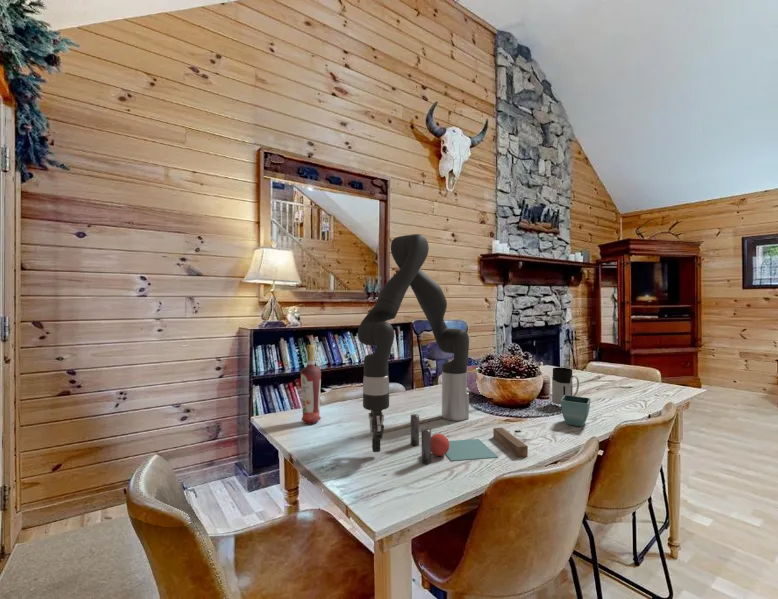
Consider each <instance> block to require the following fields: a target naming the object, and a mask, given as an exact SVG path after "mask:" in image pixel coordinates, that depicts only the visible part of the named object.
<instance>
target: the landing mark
mask: <svg viewBox="0 0 778 599" xmlns="http://www.w3.org/2000/svg"><path fill="white" fill-rule="evenodd" d="M448 441H449V450H448V451H447V453H446V454H445V455H446V457H447V458H448V459H449V460H450V462H456V461H457V462H459V461H469V460H471V461H472V460H481V459H483V460H484V459H493V458H496V459H497V458H499V456H498V455H497V454H496V453H495V452H494V451H493V450H492V449H490V448H489V447H488V446H487V445H486V444H485V443H484V442H483V441H482V440H480V439H479V438H472V439H457V440H448Z"/></svg>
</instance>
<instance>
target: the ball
mask: <svg viewBox="0 0 778 599" xmlns="http://www.w3.org/2000/svg"><path fill="white" fill-rule="evenodd" d="M449 441H450V440H448V438H447V436H445V435H444V434H442V433H435V434H433V435H431V454H433V455H434V456H436V457H442V456H444V455H446V453H447V451H448V450H449Z"/></svg>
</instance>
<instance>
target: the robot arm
mask: <svg viewBox="0 0 778 599" xmlns="http://www.w3.org/2000/svg"><path fill="white" fill-rule="evenodd" d="M429 249H430V248H429V242H428V239H427V238H426V237H425V236H424V235H423V234H421V233H420V234H419V233H415V234H413V233H412V234H408V235H401V236H396V237H395V238H393V239H392V240H391V243H390V253H391V256H392V258H393V260H394V262H395V264H396V265H397V267H398V268H399V270H398V271H397V272H396V273H395V274H394V275H393V276H391V278H390V279H389V280H388V281H387V282H386V283H385V284H384V285H383V287H382V288H381V290H380V292H379V295H378V297H377V299H376V301H375V304H374V306H373V307H372V308H371V309H370V310H369V312H368V313H367V314H366V315H365V317H364V318H363V319H362V320H361V322H360V325H359V327H358V329H357V337H358V340H359V342H360V343H361V344H363V345H366V346H373V347H375V350H374V352H373V353H369V354H367V355H365V356H364V358H363V381H362V407H363V409H364V410H368V411H370V412H369V413H368V419H369V430H370V436H371V449H372V452H373V453H380V452H381V440H382V439H383V435H384V429H385V425H384V421H385V416H384V414H383V412H382V411H383V410H384V411H385V410H387V409H389V407H390V380H389V360H390V356H391V352H392V347H393V344H394V341H395V330H394V327H393V326H392V324H391V323H389V322H388V321H391V320H393V319H395V318H396V316H397V314H398V313H399V312H398V311H399V310H400V307H401V305H402V302H403V299H404V297H405V295H406V293H407V291H408V288H409V287H410V288H411V290H412V292H413V294H414V296H415V297H416V300H417V303H418V304H419V306H420V309H421V310H422V312H423V313H424V315H425V317H426V320H427V322H428V324H429V327H430V328H431V331H432V334H433V337H434V340H435V342H436V344H437V347H438V348H439V350H440V351H441V352H443V353H447V354H453V359H452V360H450V361H446V362H444V363H442V366H441V417H442V418H443V419H445V420H447V421H456V422H458V421H465V420H468V419H469V418H470V415H469V414H470V412H469V411H470V409H469V408H470V407H469V406H470V398H469V397H470V396H469V395H470V394H469V392H468V390H467V389H468V388H467V366H469V351H470V350H469V349H470V337H469V334H468V331H467V330H466V329H460V328H450V327H448V326H447V325H446V321H445V320H444V319H445V318H444V317H445V314H446V312H447V307H448V303H447V299H446V296H445V293H444V292H443V289H442V287H441V286H440V285H439V283H438V282H437V281H436V280H434V278H432V277H431V276H430V275H428V274H427V273H426V272H424V271H423V270H422V266H423V265H424V263H425V261H426V260H427V257H428V255H429Z"/></svg>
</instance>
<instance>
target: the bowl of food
mask: <svg viewBox="0 0 778 599" xmlns="http://www.w3.org/2000/svg"><path fill="white" fill-rule="evenodd" d="M478 366H479V365H467V389H468V391H470V392H471V393H474V394H475V395H476V394H478V395H480V392H479V390H478V387H477V383H476V368H478ZM478 395H477V396H478Z"/></svg>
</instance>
